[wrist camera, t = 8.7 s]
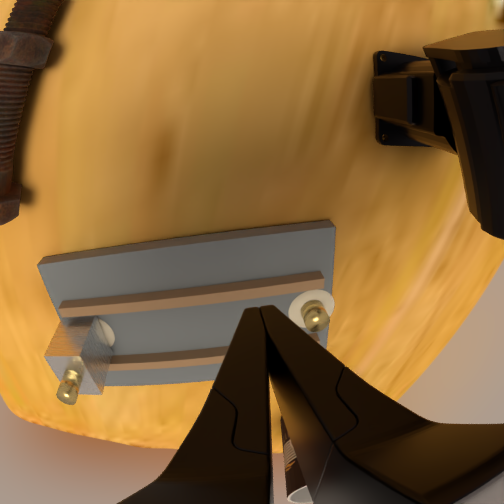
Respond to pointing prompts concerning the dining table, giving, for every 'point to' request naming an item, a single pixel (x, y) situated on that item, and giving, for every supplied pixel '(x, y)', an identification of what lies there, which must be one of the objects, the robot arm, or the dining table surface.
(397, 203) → the dining table surface
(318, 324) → the fixed brass pin
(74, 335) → the sliding pin block
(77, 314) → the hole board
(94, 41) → the dining table surface
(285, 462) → the coffee mug
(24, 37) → the bolt
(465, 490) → the robot arm
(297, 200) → the dining table surface
